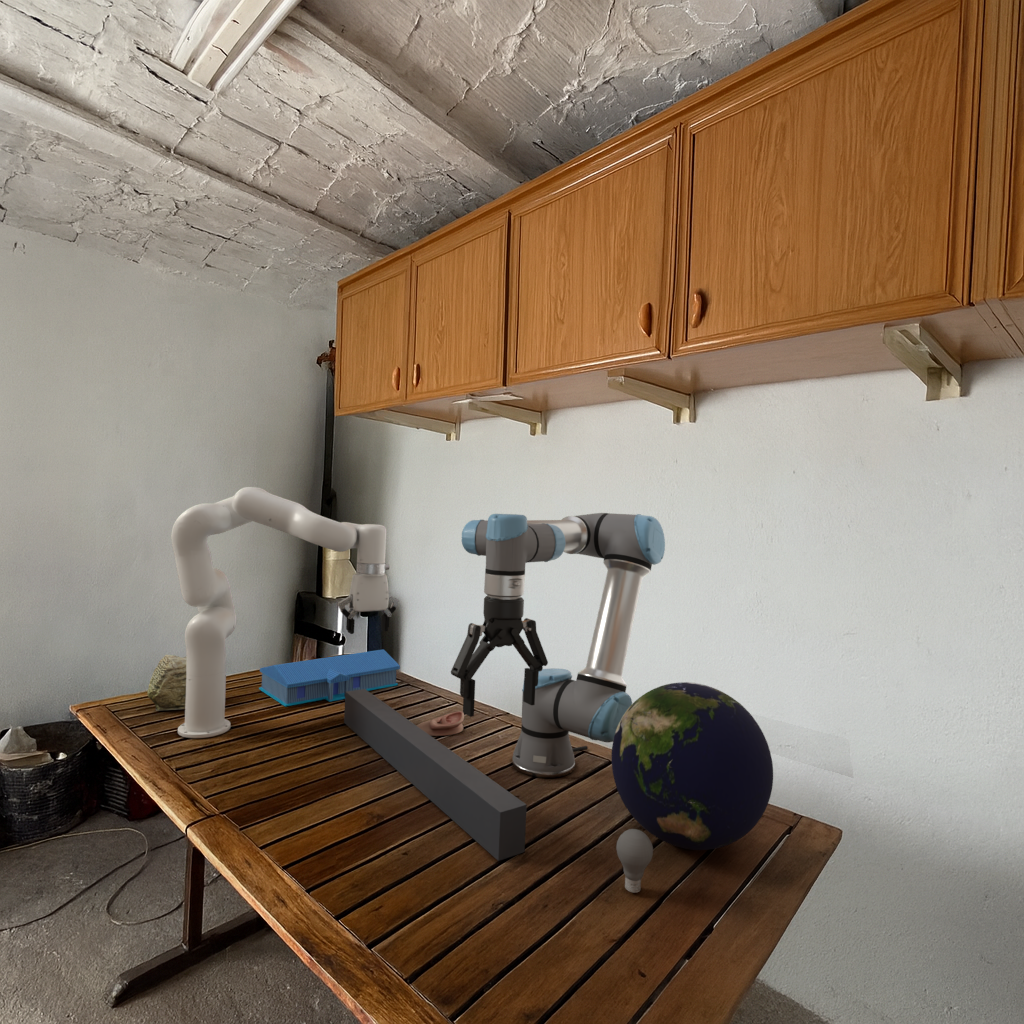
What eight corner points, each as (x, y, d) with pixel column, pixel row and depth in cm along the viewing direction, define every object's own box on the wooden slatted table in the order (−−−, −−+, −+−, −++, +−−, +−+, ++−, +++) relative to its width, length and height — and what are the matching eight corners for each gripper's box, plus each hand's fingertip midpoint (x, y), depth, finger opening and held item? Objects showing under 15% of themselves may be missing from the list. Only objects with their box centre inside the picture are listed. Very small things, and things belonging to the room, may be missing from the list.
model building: (289, 709, 186) (291, 675, 185) (258, 688, 204) (259, 657, 204) (403, 687, 212) (405, 657, 212) (366, 670, 230) (368, 643, 230)
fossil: (144, 707, 182) (145, 655, 182) (212, 696, 194) (213, 647, 194) (151, 716, 175) (153, 662, 175) (221, 703, 188) (223, 653, 188)
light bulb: (610, 879, 108) (613, 822, 108) (644, 879, 109) (647, 822, 109) (619, 902, 102) (622, 840, 102) (655, 901, 103) (658, 840, 103)
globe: (590, 859, 114) (598, 694, 114) (625, 791, 142) (631, 658, 142) (768, 905, 103) (778, 722, 103) (769, 822, 131) (776, 678, 130)
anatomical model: (409, 718, 171) (423, 705, 182) (408, 733, 171) (423, 719, 182) (456, 724, 168) (468, 710, 180) (455, 739, 168) (467, 724, 180)
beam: (344, 722, 177) (345, 691, 177) (363, 719, 181) (365, 688, 181) (498, 861, 113) (500, 812, 113) (524, 852, 116) (526, 804, 116)
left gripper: (394, 567, 181) (391, 626, 181) (335, 568, 171) (332, 631, 172) (405, 570, 175) (402, 632, 175) (344, 571, 165) (341, 637, 165)
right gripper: (455, 603, 108) (450, 726, 109) (568, 595, 123) (563, 704, 123) (435, 596, 115) (430, 712, 115) (545, 590, 129) (540, 693, 129)
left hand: (367, 631), depth 173 cm, fingers open, 9 cm apart
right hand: (499, 708), depth 119 cm, fingers open, 13 cm apart
